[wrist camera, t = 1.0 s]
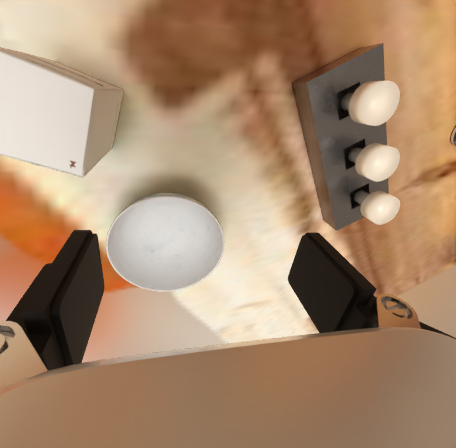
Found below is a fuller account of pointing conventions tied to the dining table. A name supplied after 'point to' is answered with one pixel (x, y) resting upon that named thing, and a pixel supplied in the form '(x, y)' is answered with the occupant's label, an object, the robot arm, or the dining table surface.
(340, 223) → the knob plate
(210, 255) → the chinaware
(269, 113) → the dining table surface
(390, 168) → the knob middle
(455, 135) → the supplement bottle
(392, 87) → the knob
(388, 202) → the knob
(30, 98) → the supplement box
